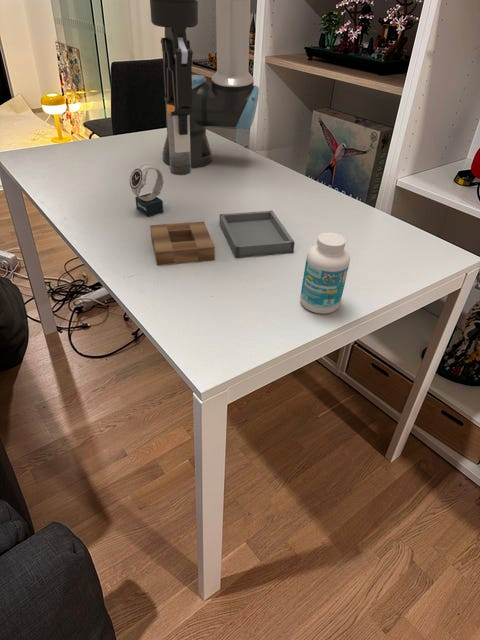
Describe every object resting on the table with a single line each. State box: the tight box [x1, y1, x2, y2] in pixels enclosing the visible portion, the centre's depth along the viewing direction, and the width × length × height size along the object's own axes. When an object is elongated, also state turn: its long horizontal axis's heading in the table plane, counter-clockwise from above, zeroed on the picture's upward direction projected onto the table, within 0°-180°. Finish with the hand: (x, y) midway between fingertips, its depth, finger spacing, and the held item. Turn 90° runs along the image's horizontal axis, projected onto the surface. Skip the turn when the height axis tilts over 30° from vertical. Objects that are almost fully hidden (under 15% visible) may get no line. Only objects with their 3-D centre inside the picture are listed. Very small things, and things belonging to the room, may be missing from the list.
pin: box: [167, 103, 192, 176], centre depth 86 cm, size 4×4×12 cm
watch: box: [129, 164, 165, 218], centre depth 111 cm, size 6×8×11 cm
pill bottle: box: [299, 232, 351, 315], centre depth 82 cm, size 8×7×14 cm
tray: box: [219, 210, 295, 259], centre depth 104 cm, size 16×13×2 cm
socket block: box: [149, 220, 216, 266], centre depth 99 cm, size 12×12×3 cm
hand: (179, 147), depth 87 cm, fingers closed on pin, 4 cm apart
